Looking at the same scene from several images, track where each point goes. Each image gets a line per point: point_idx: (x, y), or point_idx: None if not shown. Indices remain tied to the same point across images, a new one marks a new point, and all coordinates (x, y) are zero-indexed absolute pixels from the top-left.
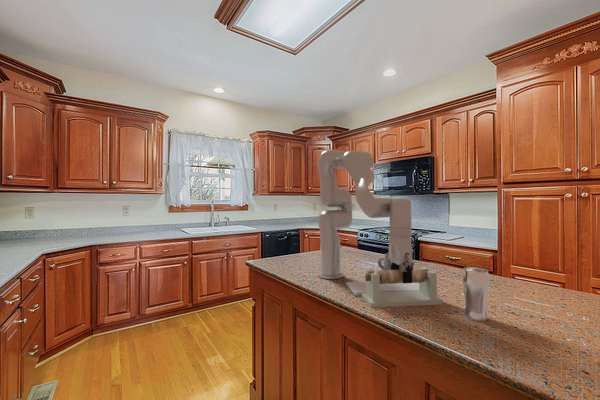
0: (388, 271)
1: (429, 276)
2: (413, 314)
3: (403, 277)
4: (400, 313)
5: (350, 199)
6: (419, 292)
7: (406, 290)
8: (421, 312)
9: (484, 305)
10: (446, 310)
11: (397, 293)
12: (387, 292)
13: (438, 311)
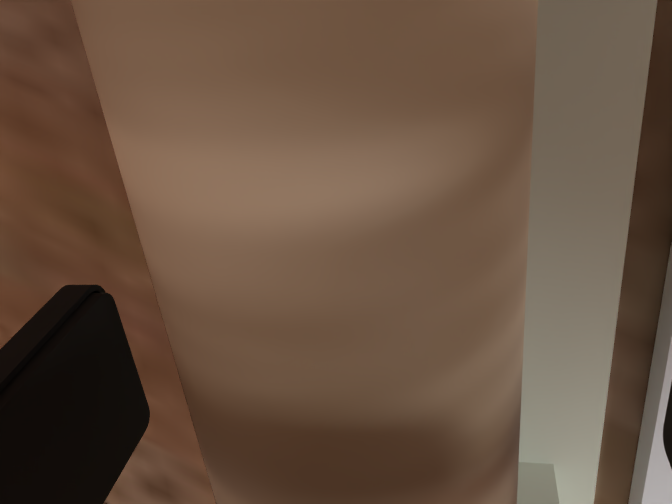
0: (156, 113)
1: None
2: (22, 142)
3: (2, 357)
4: (13, 4)
5: None
6: (534, 456)
7: (669, 366)
8: (91, 240)
9: None
10: (173, 446)
11: (542, 196)
12: (624, 55)
13: (142, 384)
